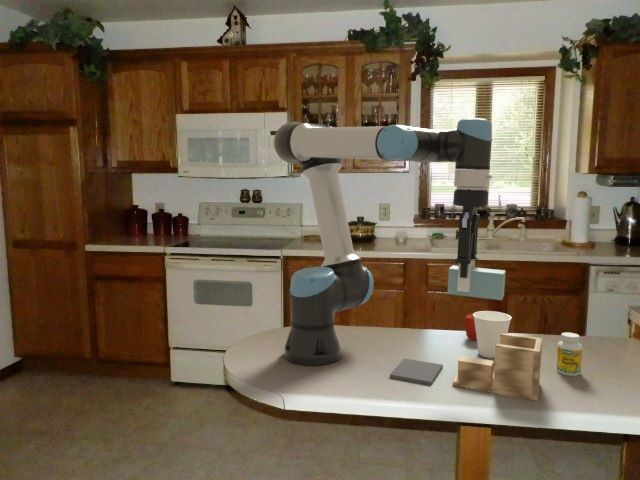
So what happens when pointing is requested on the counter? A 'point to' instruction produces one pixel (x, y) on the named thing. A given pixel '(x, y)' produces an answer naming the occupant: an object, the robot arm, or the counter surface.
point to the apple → (470, 327)
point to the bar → (479, 283)
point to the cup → (490, 330)
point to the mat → (416, 371)
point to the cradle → (505, 368)
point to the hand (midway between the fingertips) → (465, 288)
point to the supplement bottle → (569, 355)
